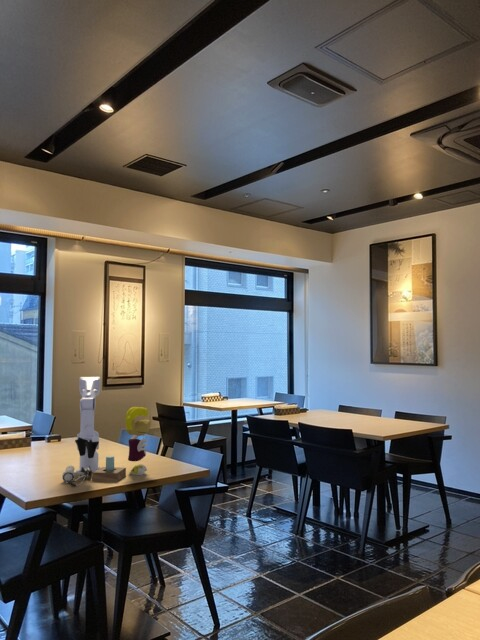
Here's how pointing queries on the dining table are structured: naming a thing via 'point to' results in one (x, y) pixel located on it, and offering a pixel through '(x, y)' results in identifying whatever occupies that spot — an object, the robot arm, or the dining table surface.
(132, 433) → the toy
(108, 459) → the teal peg
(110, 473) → the socket block
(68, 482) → the clip-on lamp
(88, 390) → the robot arm
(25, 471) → the dining table surface
